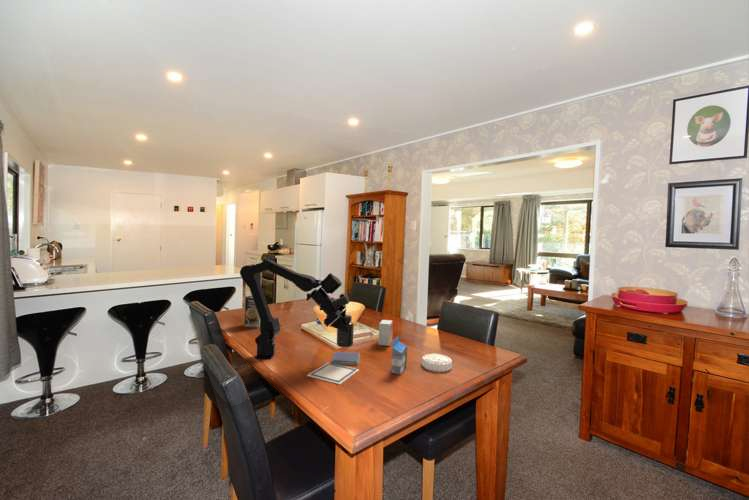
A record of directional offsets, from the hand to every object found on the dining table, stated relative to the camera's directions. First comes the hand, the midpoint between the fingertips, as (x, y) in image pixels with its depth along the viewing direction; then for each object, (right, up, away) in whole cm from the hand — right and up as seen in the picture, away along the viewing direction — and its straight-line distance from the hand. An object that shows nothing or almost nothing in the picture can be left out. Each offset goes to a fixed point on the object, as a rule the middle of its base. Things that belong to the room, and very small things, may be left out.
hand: (349, 329), depth 134 cm
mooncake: (+36, -15, -1) cm, 39 cm away
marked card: (-5, -14, -11) cm, 18 cm away
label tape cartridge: (+20, -14, -6) cm, 25 cm away
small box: (+16, -13, +25) cm, 33 cm away
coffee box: (-56, -10, +48) cm, 74 cm away
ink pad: (-2, -13, +2) cm, 13 cm away
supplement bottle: (-2, -7, 0) cm, 7 cm away
